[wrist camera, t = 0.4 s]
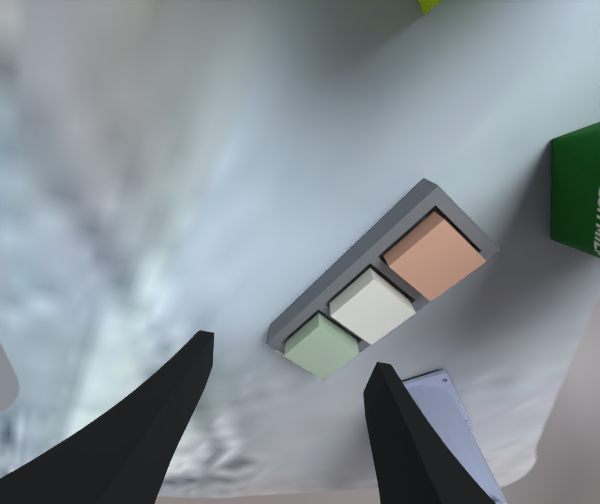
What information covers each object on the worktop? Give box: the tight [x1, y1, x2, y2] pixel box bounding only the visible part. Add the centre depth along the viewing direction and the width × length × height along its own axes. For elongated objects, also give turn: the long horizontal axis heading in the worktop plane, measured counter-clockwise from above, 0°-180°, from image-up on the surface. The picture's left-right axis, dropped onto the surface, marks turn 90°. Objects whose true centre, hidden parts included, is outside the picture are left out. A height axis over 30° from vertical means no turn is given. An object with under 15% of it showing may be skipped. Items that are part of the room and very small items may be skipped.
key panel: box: [266, 178, 500, 374], centre depth 20 cm, size 17×6×2 cm, turn 140°
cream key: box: [329, 268, 416, 345], centre depth 18 cm, size 4×4×1 cm
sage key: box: [284, 313, 359, 380], centre depth 20 cm, size 4×4×1 cm
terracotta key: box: [384, 212, 487, 302], centre depth 16 cm, size 4×4×1 cm
